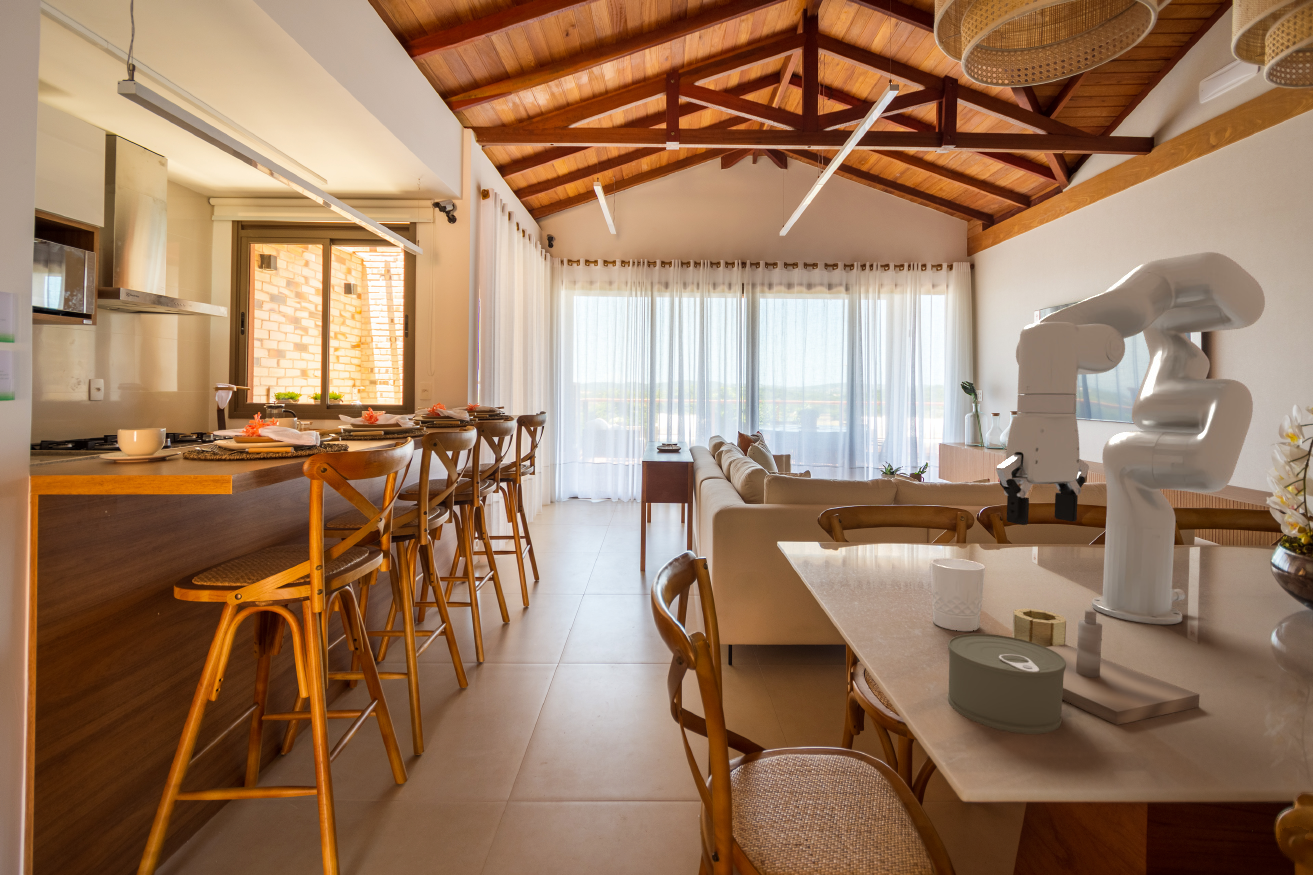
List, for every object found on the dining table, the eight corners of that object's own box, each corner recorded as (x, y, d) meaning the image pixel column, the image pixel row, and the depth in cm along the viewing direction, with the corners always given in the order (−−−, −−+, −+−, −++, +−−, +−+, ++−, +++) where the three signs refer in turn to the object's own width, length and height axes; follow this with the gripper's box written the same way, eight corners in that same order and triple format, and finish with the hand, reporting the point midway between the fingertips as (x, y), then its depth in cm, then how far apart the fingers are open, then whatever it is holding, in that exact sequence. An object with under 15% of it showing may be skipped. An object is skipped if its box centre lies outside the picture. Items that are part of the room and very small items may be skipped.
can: (1023, 687, 81) (1025, 633, 81) (1088, 735, 69) (1091, 672, 69) (928, 686, 81) (930, 632, 81) (977, 734, 69) (980, 671, 69)
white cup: (989, 635, 100) (991, 571, 100) (934, 630, 102) (937, 567, 101) (974, 618, 108) (977, 559, 107) (924, 615, 109) (926, 556, 109)
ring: (1034, 632, 102) (1035, 607, 101) (1074, 646, 95) (1075, 620, 95) (1003, 636, 99) (1004, 611, 99) (1041, 652, 93) (1043, 624, 93)
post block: (1064, 654, 92) (1067, 588, 92) (1198, 706, 76) (1203, 627, 76) (989, 666, 88) (992, 597, 87) (1116, 724, 72) (1120, 640, 71)
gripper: (1064, 407, 102) (1060, 514, 103) (980, 406, 96) (976, 520, 97) (1112, 407, 95) (1107, 523, 96) (1024, 406, 89) (1019, 529, 90)
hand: (1041, 521), depth 97 cm, fingers open, 9 cm apart
